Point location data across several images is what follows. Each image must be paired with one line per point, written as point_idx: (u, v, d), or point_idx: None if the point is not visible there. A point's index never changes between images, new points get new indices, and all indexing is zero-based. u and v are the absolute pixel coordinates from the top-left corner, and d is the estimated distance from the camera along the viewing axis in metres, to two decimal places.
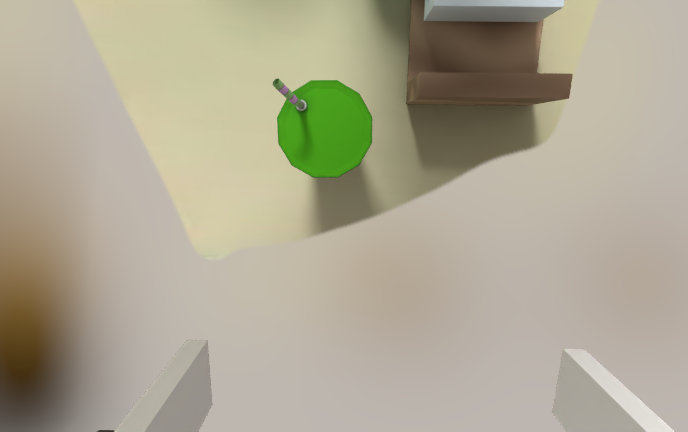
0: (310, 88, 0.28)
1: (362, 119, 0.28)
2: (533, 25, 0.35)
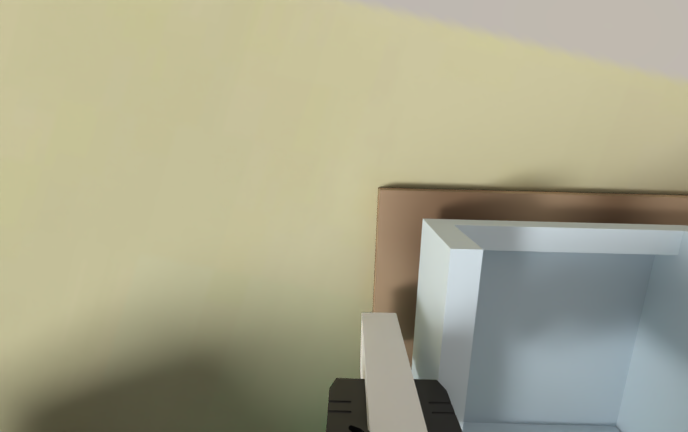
0: None
1: None
2: (646, 216, 0.16)
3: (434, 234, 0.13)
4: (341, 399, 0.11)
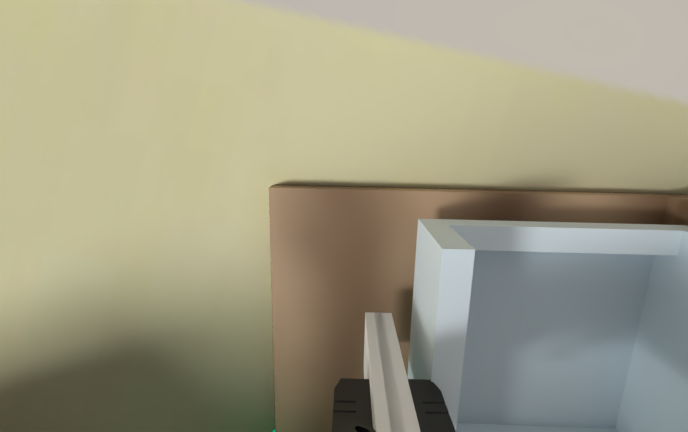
0: None
1: None
2: (537, 214, 0.16)
3: (428, 234, 0.13)
4: (346, 399, 0.11)
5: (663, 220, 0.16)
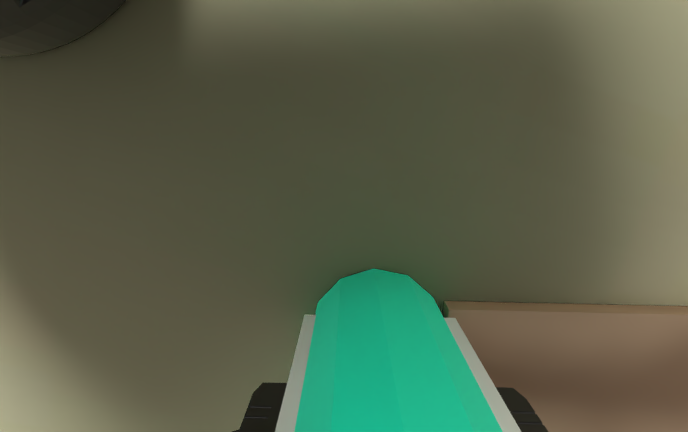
0: None
1: None
2: None
3: None
4: (261, 404, 0.11)
5: None
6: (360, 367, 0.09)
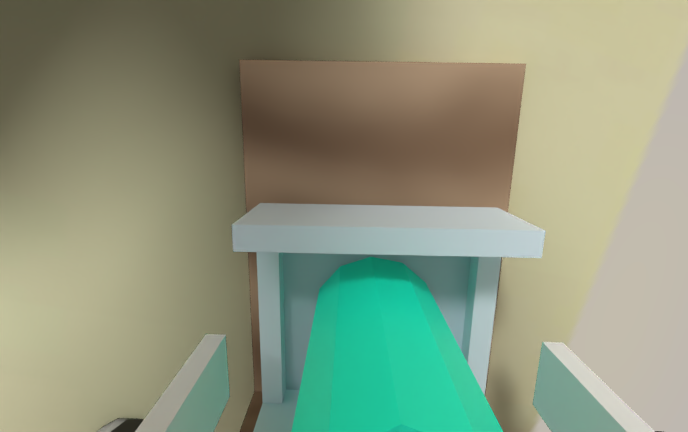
0: None
1: None
2: None
3: (515, 217, 0.14)
4: None
5: None
6: (357, 335, 0.11)
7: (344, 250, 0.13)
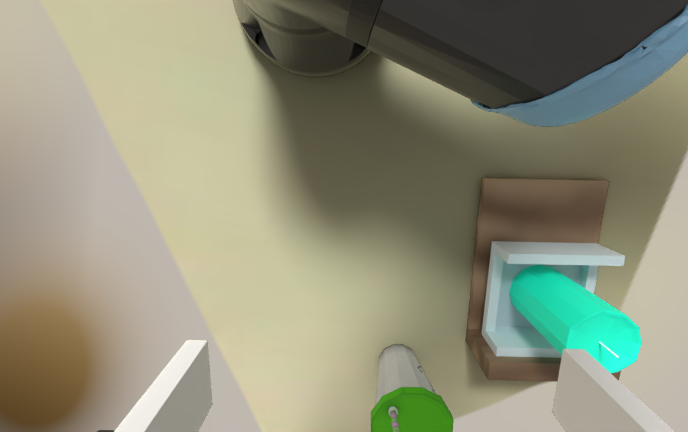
0: (401, 398, 0.32)
1: (444, 420, 0.33)
2: None
3: (609, 249, 0.35)
4: None
5: None
6: (566, 292, 0.32)
7: (549, 263, 0.34)
